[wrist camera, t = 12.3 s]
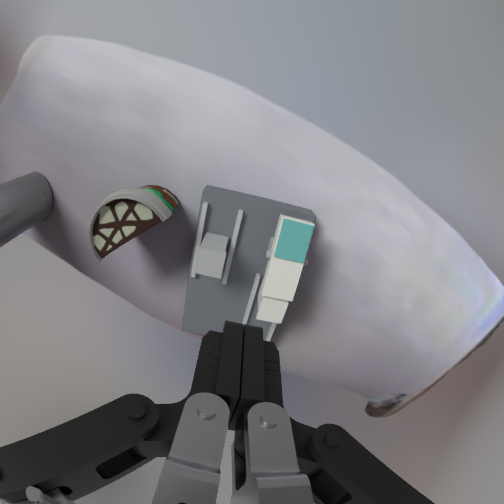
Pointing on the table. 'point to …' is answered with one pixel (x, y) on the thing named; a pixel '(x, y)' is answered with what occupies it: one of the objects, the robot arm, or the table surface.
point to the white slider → (271, 308)
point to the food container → (128, 216)
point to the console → (234, 259)
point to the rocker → (286, 257)
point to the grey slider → (211, 255)
